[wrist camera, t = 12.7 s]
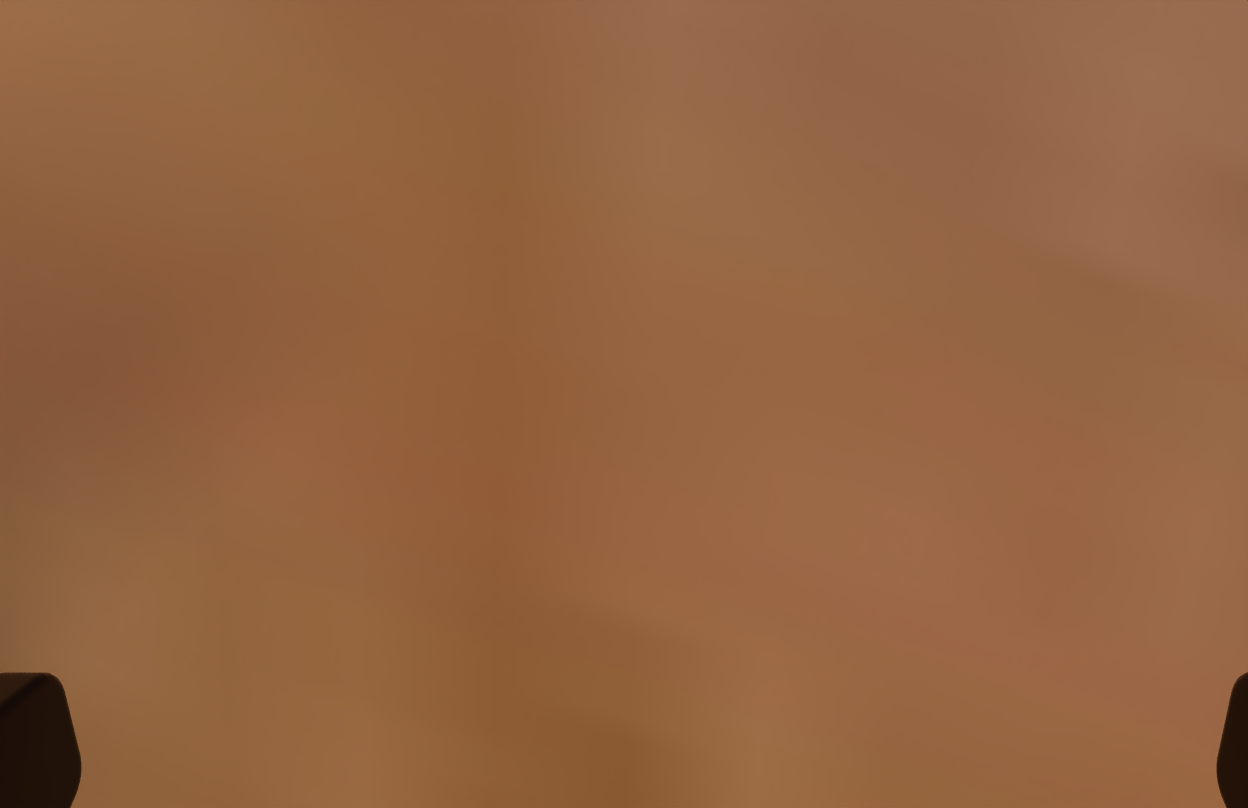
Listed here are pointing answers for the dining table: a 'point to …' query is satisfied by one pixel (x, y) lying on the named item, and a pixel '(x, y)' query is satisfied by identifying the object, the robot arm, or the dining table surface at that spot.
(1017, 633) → the dining table surface
